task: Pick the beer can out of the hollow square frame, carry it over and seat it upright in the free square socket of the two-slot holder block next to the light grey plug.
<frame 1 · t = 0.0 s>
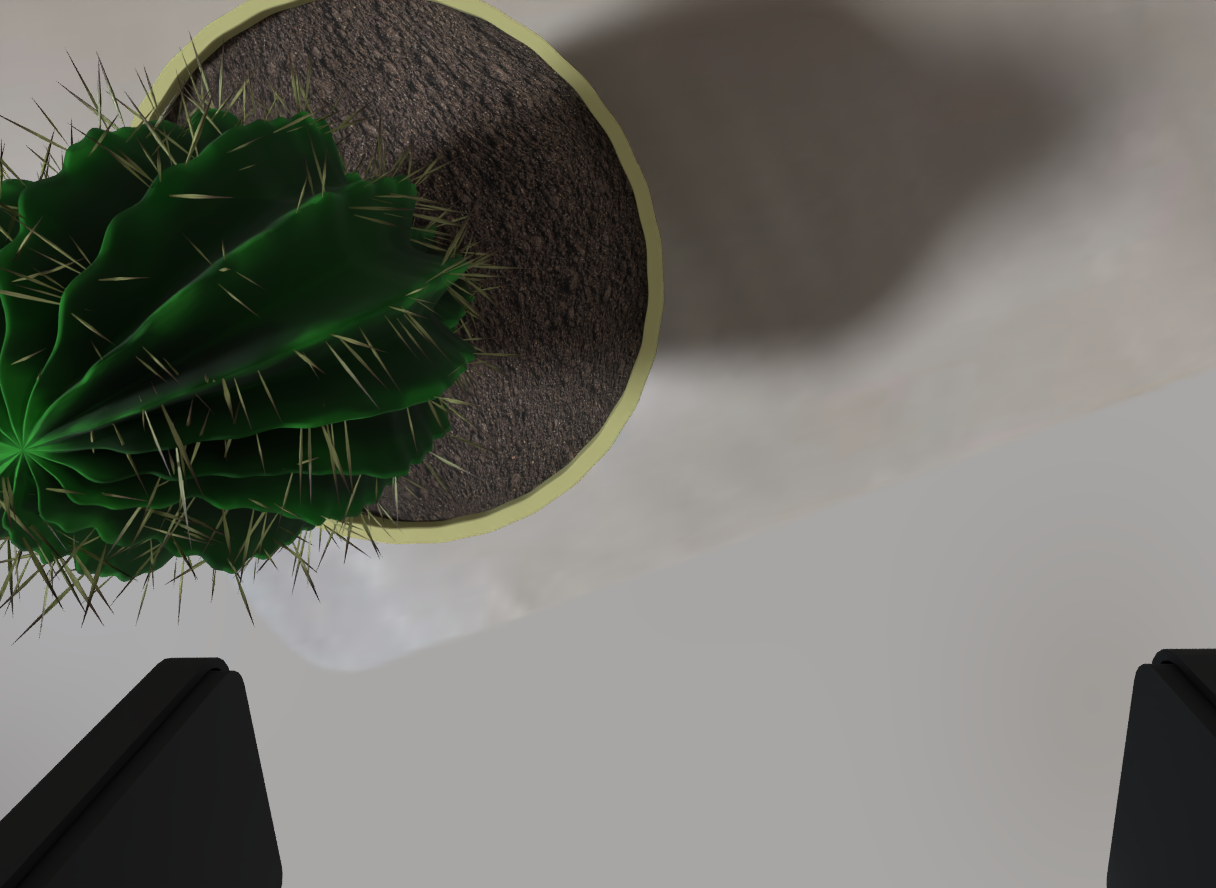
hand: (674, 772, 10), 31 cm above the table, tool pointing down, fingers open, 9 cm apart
potted cactus: (490, 234, 39), on the table
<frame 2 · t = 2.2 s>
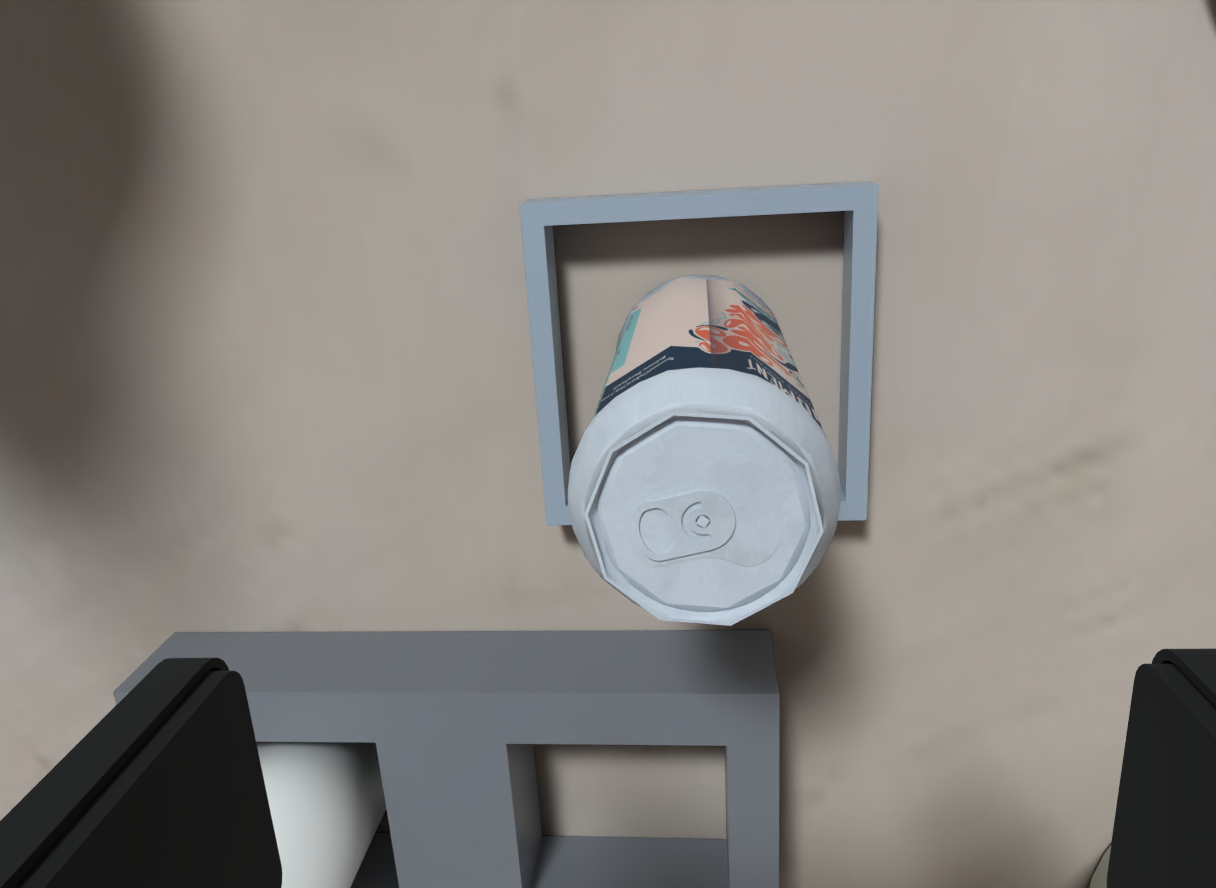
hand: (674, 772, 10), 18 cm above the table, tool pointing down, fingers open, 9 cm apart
two-slot holder block: (477, 758, 32), on the table
beer can: (699, 353, 27), resting in hollow square frame
hollow square frame: (699, 355, 26), on the table
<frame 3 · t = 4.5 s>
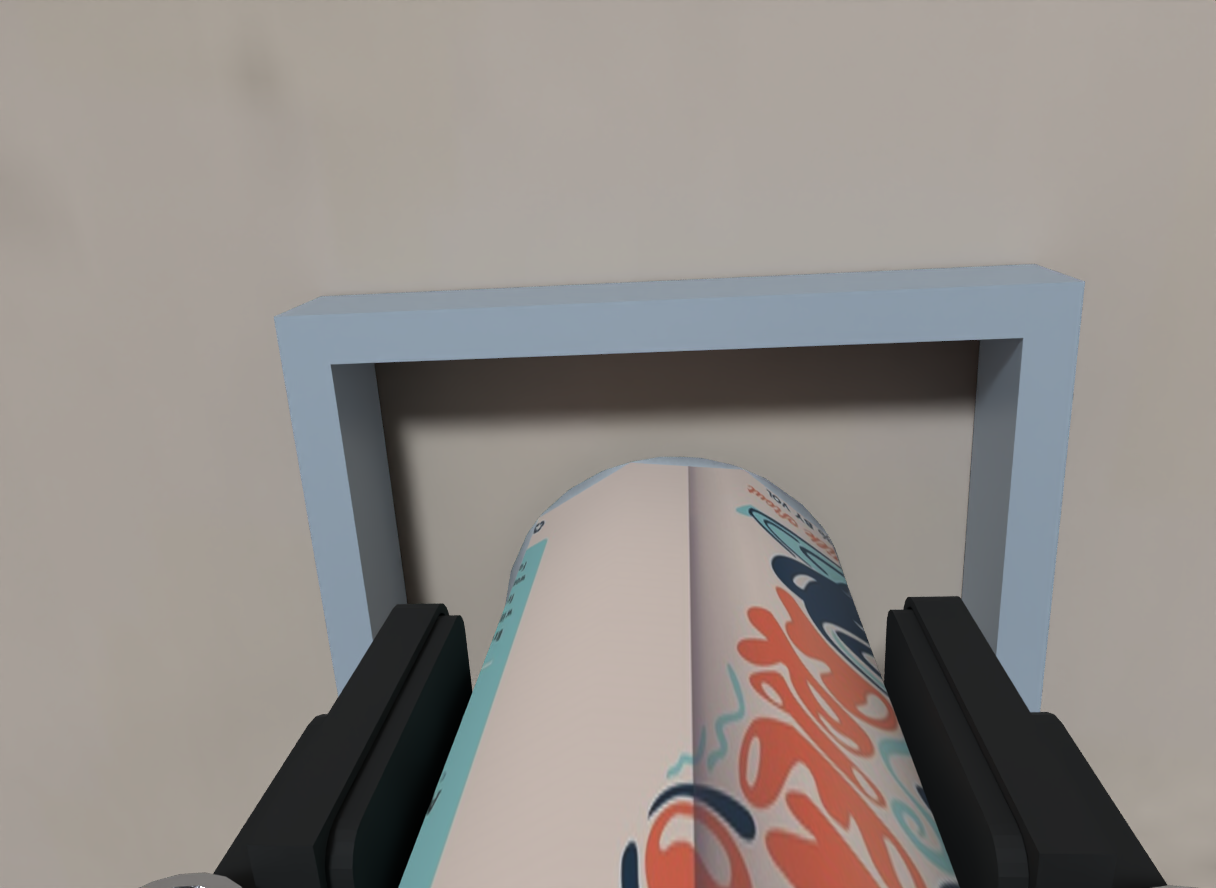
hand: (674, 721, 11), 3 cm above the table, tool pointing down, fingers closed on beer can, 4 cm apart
beer can: (676, 593, 13), resting in hollow square frame, touching gripper
hollow square frame: (677, 600, 13), on the table
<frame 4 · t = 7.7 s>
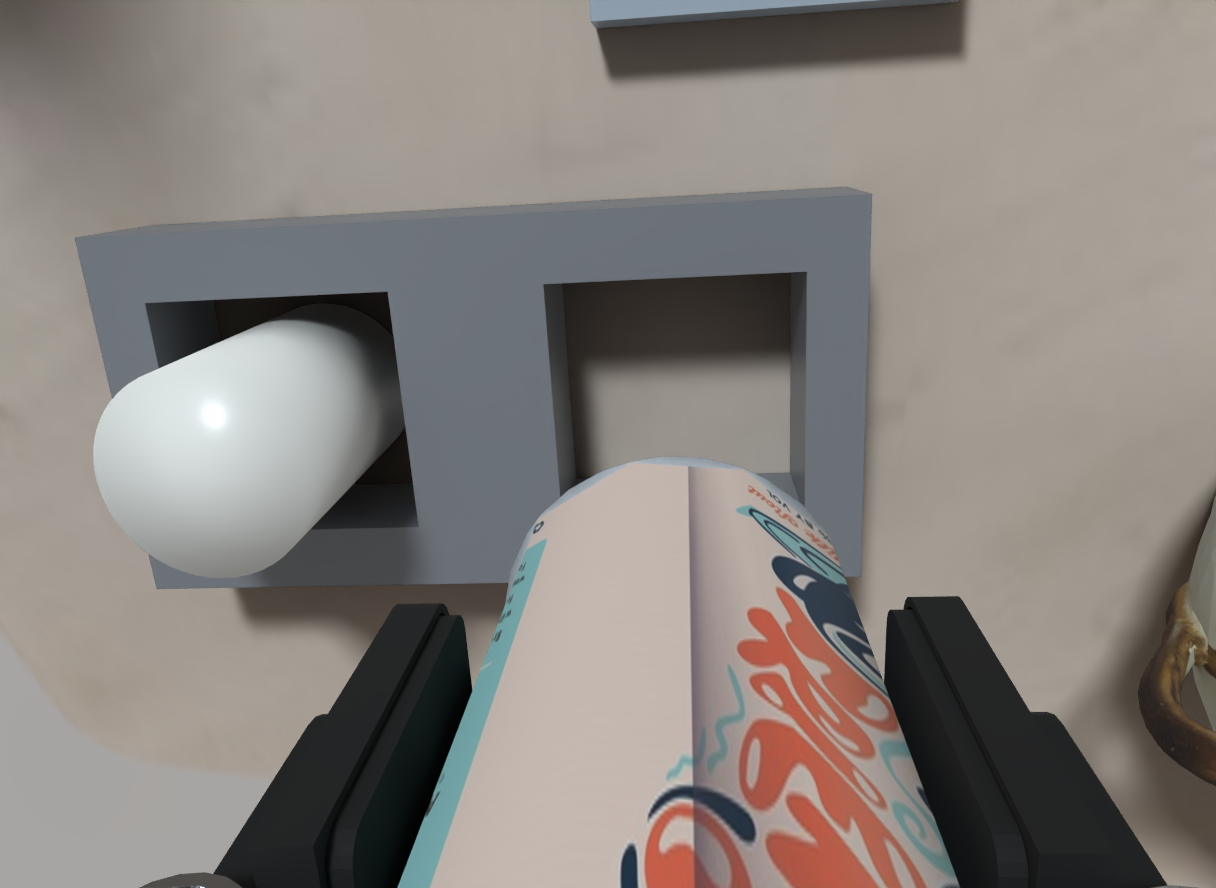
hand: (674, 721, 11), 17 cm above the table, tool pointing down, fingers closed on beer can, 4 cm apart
two-slot holder block: (502, 378, 27), on the table
beer can: (676, 594, 13), point 14 cm above the table, touching gripper
when the fingers open (5 cm above the table, at t = 10.8 s): beer can drops 2 cm, resting in two-slot holder block.
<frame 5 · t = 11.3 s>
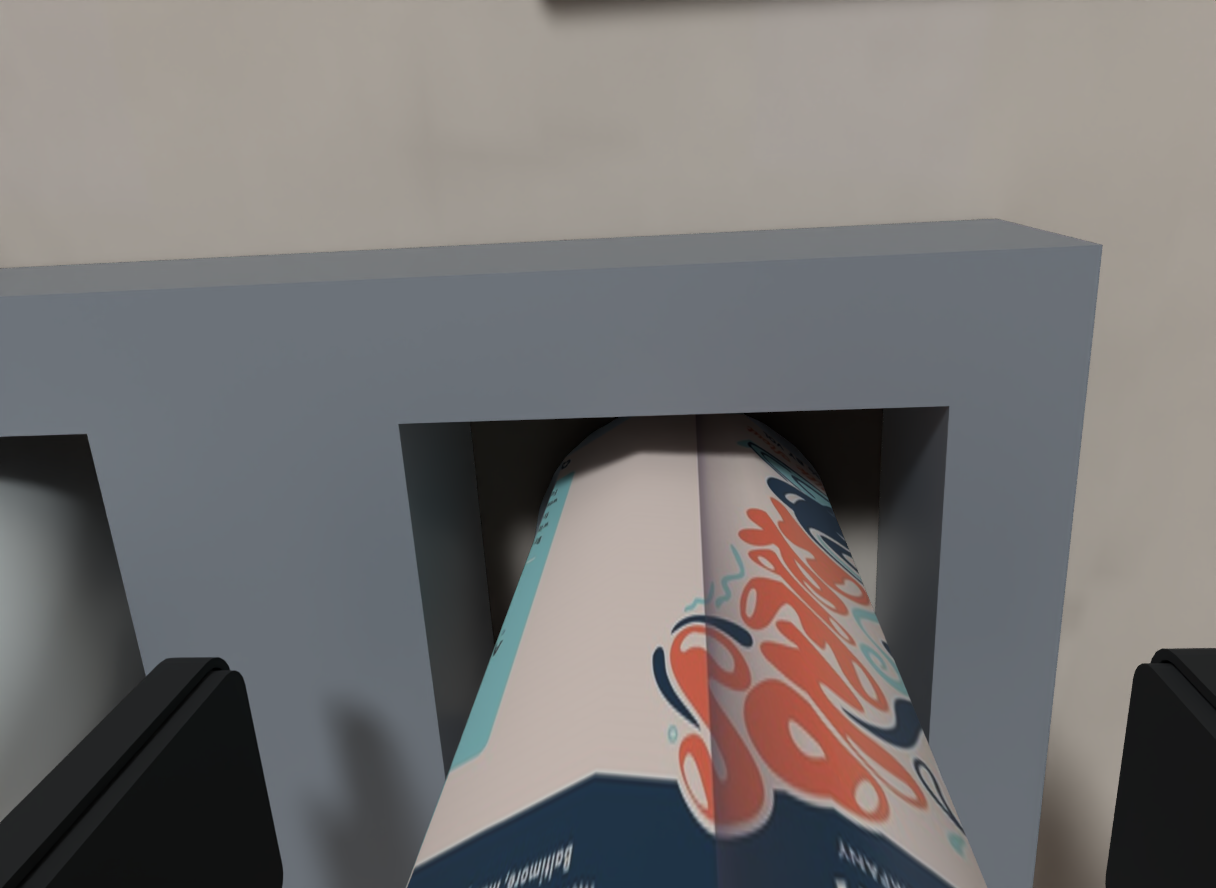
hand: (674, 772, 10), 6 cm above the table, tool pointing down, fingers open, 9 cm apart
two-slot holder block: (368, 549, 16), on the table
beer can: (684, 529, 15), resting in two-slot holder block
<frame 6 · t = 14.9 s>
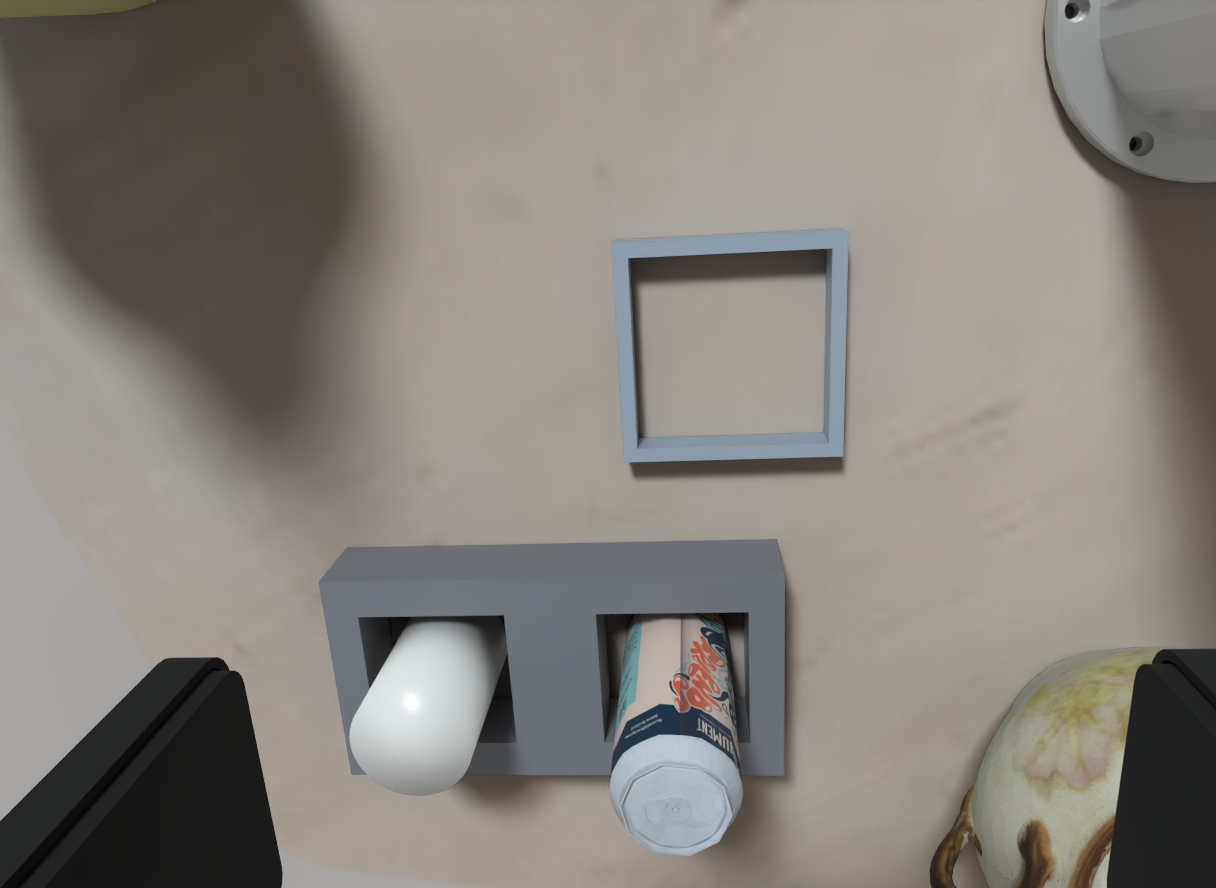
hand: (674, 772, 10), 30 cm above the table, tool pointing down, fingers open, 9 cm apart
two-slot holder block: (564, 639, 44), on the table
beer can: (677, 633, 44), resting in two-slot holder block
sugar bowl: (1097, 724, 43), on the table
hollow square frame: (728, 345, 39), on the table
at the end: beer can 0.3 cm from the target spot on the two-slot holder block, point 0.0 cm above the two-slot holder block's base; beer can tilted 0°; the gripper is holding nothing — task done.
